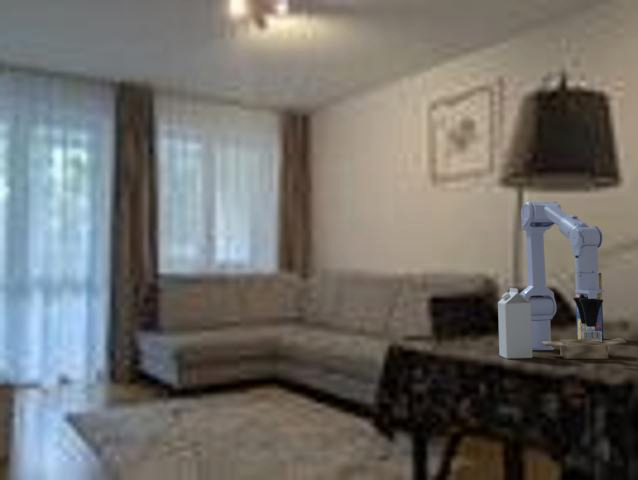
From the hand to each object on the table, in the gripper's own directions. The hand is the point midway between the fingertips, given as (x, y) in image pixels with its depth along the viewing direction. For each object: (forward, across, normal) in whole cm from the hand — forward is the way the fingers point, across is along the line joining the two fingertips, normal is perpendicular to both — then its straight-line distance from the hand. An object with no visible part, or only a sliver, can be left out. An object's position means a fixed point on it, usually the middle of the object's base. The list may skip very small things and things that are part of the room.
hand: (588, 325), depth 185 cm
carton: (+10, +11, +2) cm, 15 cm away
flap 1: (+5, +2, 0) cm, 6 cm away
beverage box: (+10, +51, -9) cm, 53 cm away
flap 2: (+5, +9, -8) cm, 13 cm away
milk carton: (+10, +8, +18) cm, 22 cm away
